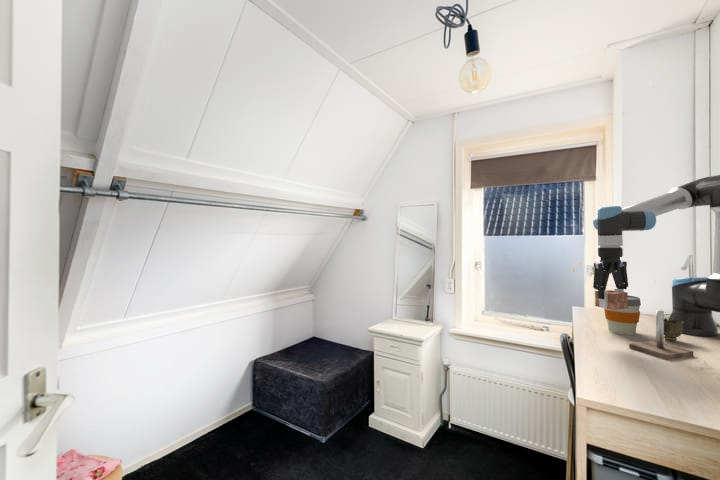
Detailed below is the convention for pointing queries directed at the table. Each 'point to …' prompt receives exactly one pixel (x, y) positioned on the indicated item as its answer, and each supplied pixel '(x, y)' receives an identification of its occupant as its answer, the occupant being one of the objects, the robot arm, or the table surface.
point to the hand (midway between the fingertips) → (611, 306)
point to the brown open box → (614, 299)
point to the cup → (672, 329)
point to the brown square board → (661, 350)
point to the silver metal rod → (659, 329)
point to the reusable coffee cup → (624, 317)
